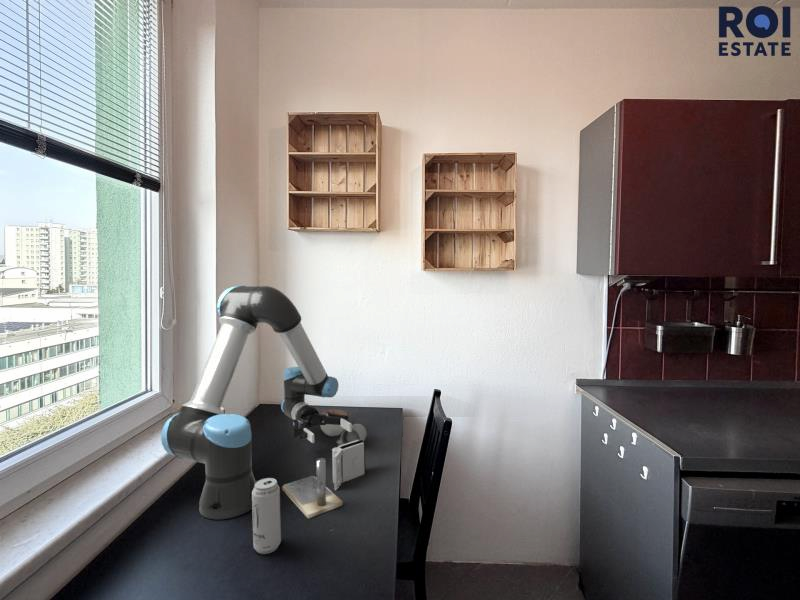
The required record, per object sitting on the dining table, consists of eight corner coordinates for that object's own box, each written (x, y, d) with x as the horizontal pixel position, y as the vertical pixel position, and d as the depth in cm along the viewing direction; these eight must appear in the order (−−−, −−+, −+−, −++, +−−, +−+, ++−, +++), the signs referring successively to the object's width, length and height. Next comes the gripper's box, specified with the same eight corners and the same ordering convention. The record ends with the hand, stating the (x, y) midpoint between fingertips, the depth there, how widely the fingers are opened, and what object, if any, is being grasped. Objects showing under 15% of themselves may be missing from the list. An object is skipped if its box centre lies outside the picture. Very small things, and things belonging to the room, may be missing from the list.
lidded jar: (317, 430, 164) (317, 407, 163) (343, 426, 168) (343, 404, 167) (322, 440, 154) (321, 415, 153) (349, 436, 158) (349, 412, 157)
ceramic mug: (368, 441, 152) (367, 421, 152) (360, 450, 144) (359, 429, 144) (341, 439, 155) (341, 420, 154) (332, 448, 147) (332, 427, 146)
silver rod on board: (307, 511, 105) (306, 466, 104) (283, 485, 118) (282, 445, 118) (338, 500, 110) (338, 457, 110) (312, 476, 124) (311, 437, 123)
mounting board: (308, 518, 104) (308, 514, 104) (282, 489, 118) (282, 486, 118) (342, 505, 110) (342, 501, 110) (314, 479, 124) (314, 476, 124)
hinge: (336, 491, 117) (335, 457, 117) (323, 485, 120) (322, 452, 120) (367, 472, 128) (367, 441, 128) (355, 468, 131) (354, 437, 131)
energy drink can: (248, 546, 93) (247, 483, 92) (273, 535, 97) (271, 474, 96) (260, 559, 89) (259, 493, 88) (285, 546, 93) (284, 483, 92)
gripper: (336, 417, 156) (365, 434, 140) (272, 433, 141) (296, 455, 125) (335, 398, 156) (365, 413, 139) (271, 412, 141) (295, 431, 124)
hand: (332, 433), depth 132 cm, fingers open, 13 cm apart
